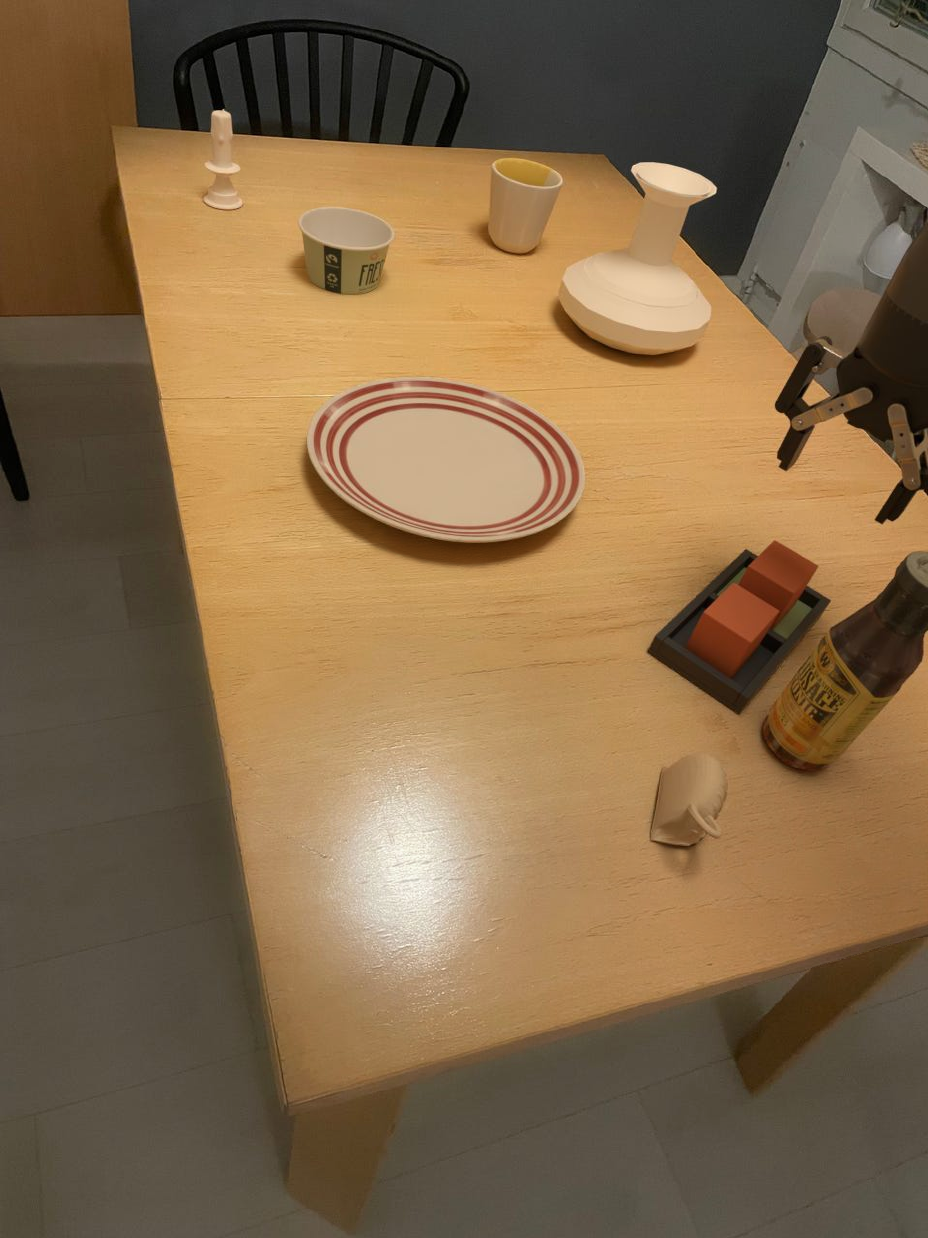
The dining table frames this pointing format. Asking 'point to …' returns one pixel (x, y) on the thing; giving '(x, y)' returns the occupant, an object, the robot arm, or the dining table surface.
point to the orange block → (778, 578)
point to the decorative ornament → (689, 800)
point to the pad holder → (760, 663)
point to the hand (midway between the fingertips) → (833, 492)
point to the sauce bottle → (852, 672)
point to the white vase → (643, 274)
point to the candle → (222, 164)
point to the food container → (344, 248)
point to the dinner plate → (445, 459)
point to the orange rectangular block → (731, 629)
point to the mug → (521, 203)
